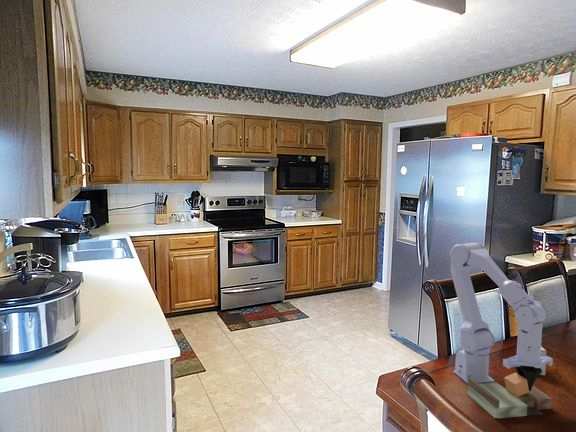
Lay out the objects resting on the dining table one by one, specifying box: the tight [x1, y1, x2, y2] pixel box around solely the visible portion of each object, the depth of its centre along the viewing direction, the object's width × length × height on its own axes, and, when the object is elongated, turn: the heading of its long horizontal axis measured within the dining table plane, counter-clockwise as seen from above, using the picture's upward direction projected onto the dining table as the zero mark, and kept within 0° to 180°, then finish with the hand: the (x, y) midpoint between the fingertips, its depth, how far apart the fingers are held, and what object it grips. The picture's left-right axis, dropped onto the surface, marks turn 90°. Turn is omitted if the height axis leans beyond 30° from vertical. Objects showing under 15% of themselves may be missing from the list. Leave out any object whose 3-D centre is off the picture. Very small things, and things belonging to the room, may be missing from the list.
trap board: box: [467, 378, 553, 419], centre depth 107 cm, size 19×12×5 cm, turn 99°
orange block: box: [503, 371, 529, 397], centre depth 107 cm, size 4×4×4 cm
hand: (526, 389), depth 108 cm, fingers closed
